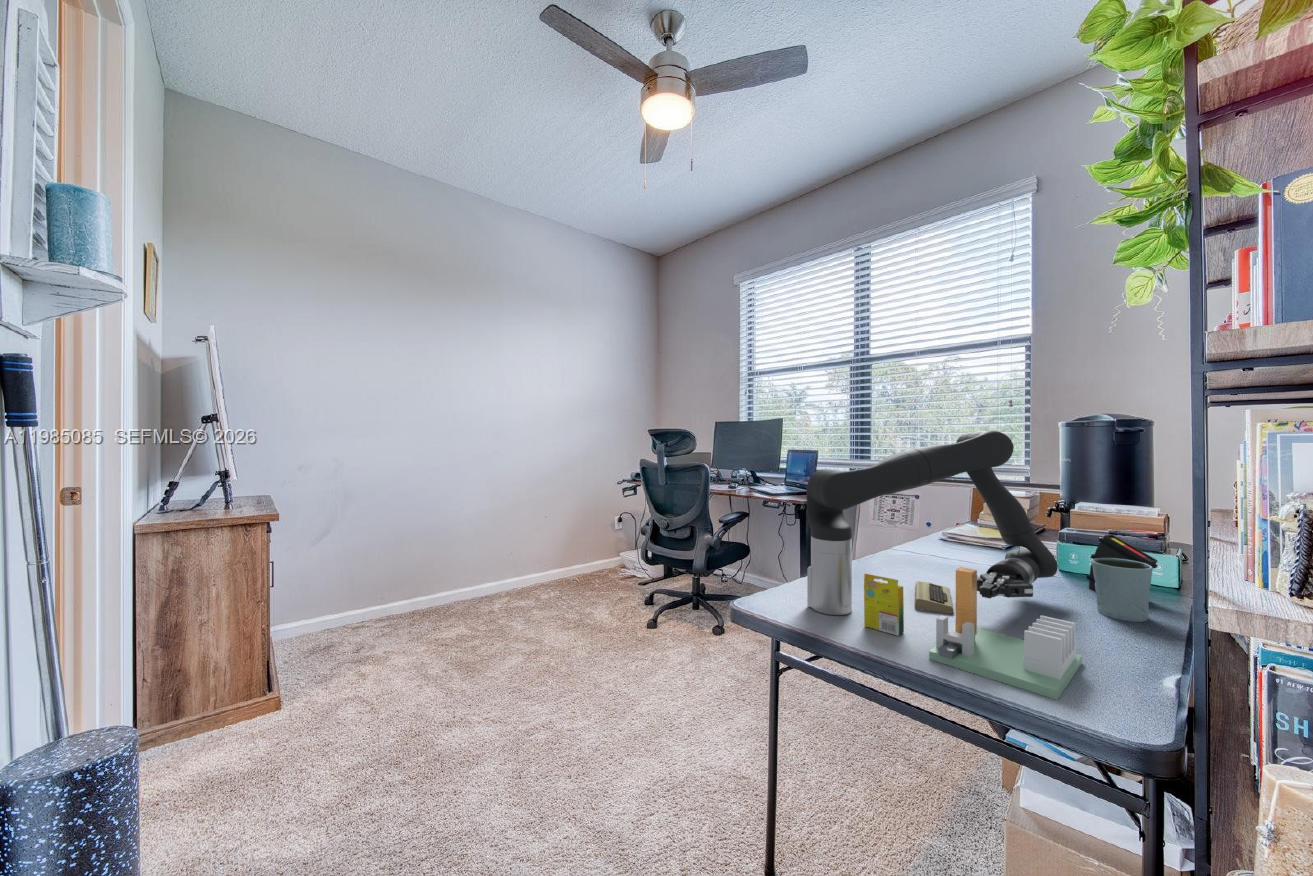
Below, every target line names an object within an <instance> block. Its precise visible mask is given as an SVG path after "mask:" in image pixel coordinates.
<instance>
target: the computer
mask: <svg viewBox="0 0 1313 876" xmlns="http://www.w3.org/2000/svg"><path fill="white" fill-rule="evenodd" d="M914 591H915V592H914V609H915V610H919V609H923V610H922V611H926V610H929V611H928V612H933V611H936V613H941V612H942V613H943V614H948V615H949V614H950V615H953V614H954V606H953V601H952V594H951V590H950V588H949V587H947V586H943V585H940V584H935V583H931V582H927V581H919V580H917V581H916V583H915V587H914ZM942 613H941V614H942Z"/></svg>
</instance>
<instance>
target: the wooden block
mask: <svg viewBox="0 0 1313 876" xmlns="http://www.w3.org/2000/svg"><path fill="white" fill-rule="evenodd" d="M977 575H978V569H973V568H969V567H968V568H966V567H963V566H962V567H959V568H957V569H955V632H957V633H961V634H962V625H963V624H964V623H966V622H970V623H974V641H975V635H976V634H977V628H978V609H977V608H978V605H977V604H978V591H977ZM961 652H962V644H960V643H957V642H953V641H950V640H949V641H947V642H946V643H945V644H943V645H942V646H940V647H939V655H940V656H943V657H947V658H950V659H953V658H954V657H956V656H957V655H958V654H959V653H961Z"/></svg>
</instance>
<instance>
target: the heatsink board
mask: <svg viewBox="0 0 1313 876" xmlns="http://www.w3.org/2000/svg"><path fill="white" fill-rule="evenodd" d="M935 621H936V622H935V623H936V627H935V632H936V634H935V635H936V636H935V642H936V643H935V646H934V647H932V648H931V649H930V650H929V651H928V656H929V657H928V660H930V659H931V661H934V662H937V663H940V664H944V665H946V664H947V665H946V666H949V665H950V666H949V667H952V666H953V668H955V669H959V668H960V669H959V670H962V671H965V672H969V673H970V674H971V673H972V674H974V673H975V675H978V676H981V677H984V678H986V679H987V678H988V679H989V680H993V681H996V682H1000V683H1002V682H1003V683H1004V684H1006V685H1010V686H1013V687H1016V688H1018V689H1021V690H1025V691H1028V692H1031V693H1033V694H1038V695H1040V696H1043V697H1047V698H1049V699H1053V700H1056V701H1058V700H1059V699H1060V697H1061V695H1062V694H1063V692H1064V691H1065V690H1066V688H1067V687H1068V685H1069V684H1070V682H1071V680H1072V679H1073V678H1074V676H1075V675H1076V673H1077V671H1078V670H1079V668H1080V667H1081V665H1082V663H1083V655H1082V654H1080V653H1076V652H1077V651H1076V649H1077V647H1076V622H1072V621H1068V620H1063V619H1059V618H1054V617H1050V616H1045V615H1040V616H1039V618H1036V620H1035V622H1032V626H1031V625H1030V626H1028V629H1025V630H1024V634H1023V635H1024V636H1023V638H1024V639H1021V638H1018V637H1014V636H1009V635H1006V634H1002V633H998V632H994V631H991V630H986V629H983V628H979V627H977V634H976V635H975V641H974V623H970V622H966V623H964V624H963V625H962V634H961V633H957V632H956V631H954V630H950V629H949V617H948V616H947V615H943V614H941V615H939V616H938V617H936V619H935ZM949 640H950V641H953V642H957V643H960V644H962V652H961V653H959V654H958V655H957V656H956V657H954V658H953V659H950V658H947V657H943V656H940V655H939V647H940V646H942V645H943V644H945V643H946V642H947V641H949Z"/></svg>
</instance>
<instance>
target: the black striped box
mask: <svg viewBox="0 0 1313 876" xmlns="http://www.w3.org/2000/svg"><path fill="white" fill-rule="evenodd" d="M1098 542H1099V544H1098V545H1097V547H1096V549H1095V552H1094V554H1091V555H1090V559H1091V560H1093V559H1095V558H1117V559H1126V560H1132V561H1138V562H1142V563H1146V564H1148V565H1150V566H1152V567H1153V568H1152V570H1153V569H1157V568H1158V566H1159V565H1158V564H1157V563H1158V560H1157V559H1156V558H1154V557H1153V556H1151V555H1149V554H1147V553H1145V552H1144V551H1142V550H1140V549H1138V548H1136V547H1135V546H1133V545H1132V544H1130V543H1127V542H1126V541H1124V540H1122V539H1121V538H1119V537H1118V536H1116V535H1114V534H1105V535H1104V536H1103V537H1101V538H1099V539H1098ZM1086 580H1088V588H1089V590H1093V591H1096V589H1095V583H1096V582H1095V580H1094V573H1093V566H1092V563H1091V565H1090V570H1089V574H1086Z"/></svg>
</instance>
